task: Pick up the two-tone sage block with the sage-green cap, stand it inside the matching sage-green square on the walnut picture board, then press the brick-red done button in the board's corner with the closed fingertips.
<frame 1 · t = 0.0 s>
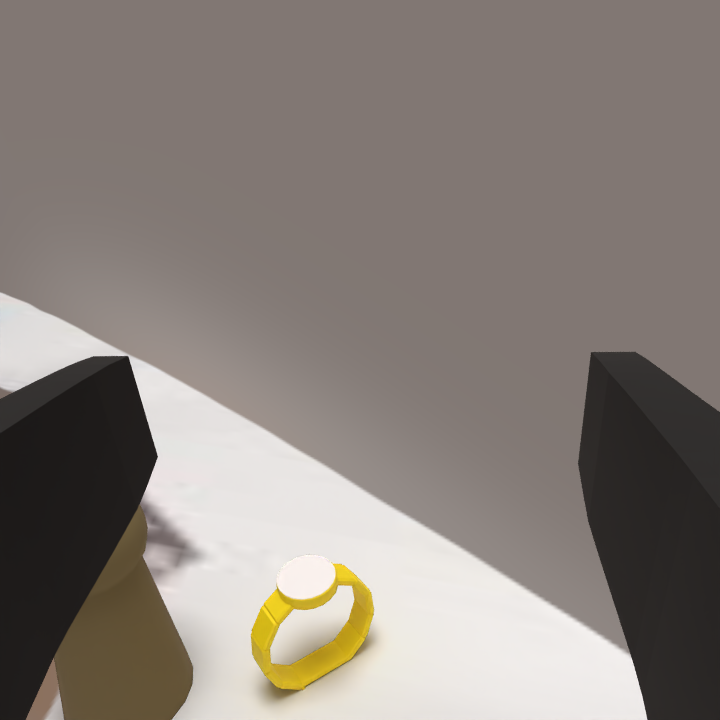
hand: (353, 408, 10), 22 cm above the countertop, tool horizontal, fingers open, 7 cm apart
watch: (319, 668, 32), on the countertop
cork: (130, 691, 31), on the countertop
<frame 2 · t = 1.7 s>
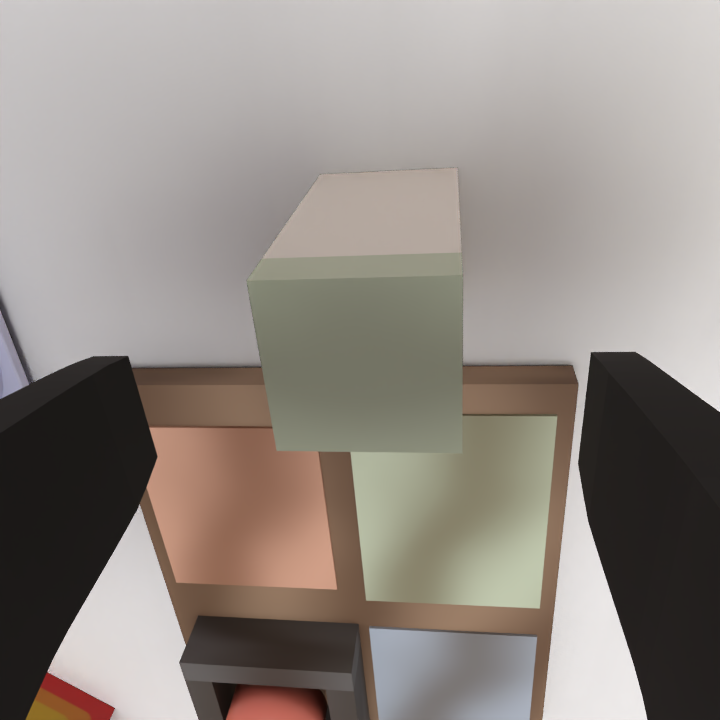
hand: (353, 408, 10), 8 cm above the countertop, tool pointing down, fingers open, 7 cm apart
two-tone sage block: (391, 237, 17), on the countertop
picture board: (355, 566, 23), on the countertop
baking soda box: (18, 711, 32), on the countertop
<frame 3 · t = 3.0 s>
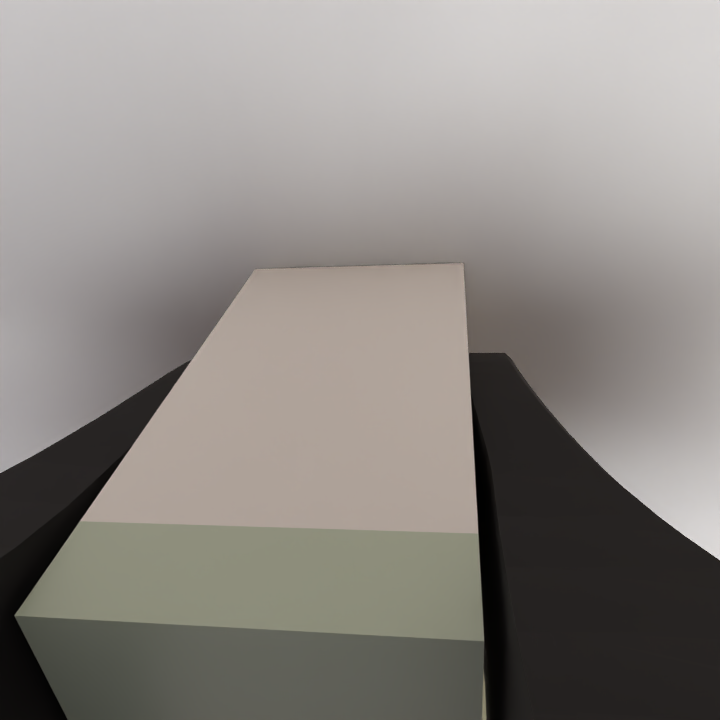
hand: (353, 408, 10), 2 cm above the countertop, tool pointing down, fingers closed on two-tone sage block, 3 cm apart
two-tone sage block: (364, 357, 11), on the countertop, touching gripper
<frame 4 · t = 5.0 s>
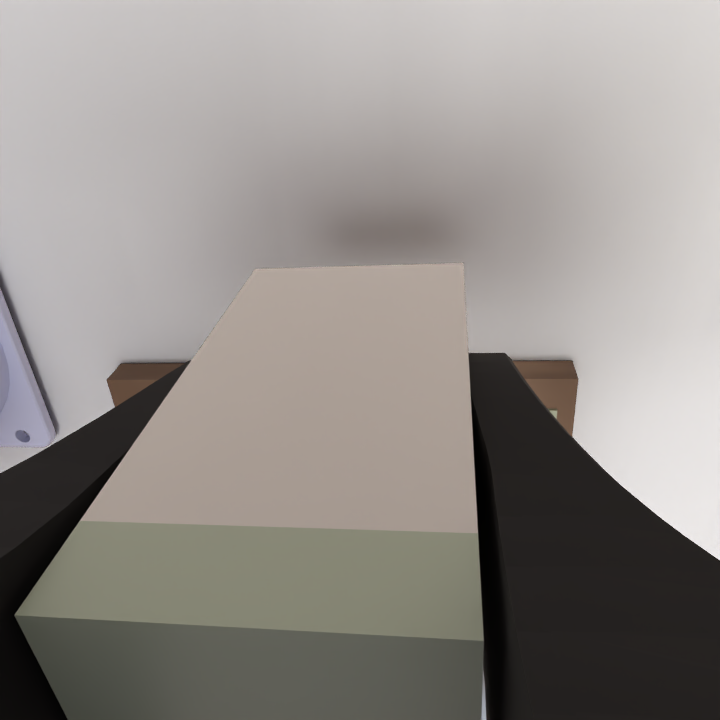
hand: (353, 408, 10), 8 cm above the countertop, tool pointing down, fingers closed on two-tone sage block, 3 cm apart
two-tone sage block: (364, 357, 11), point 7 cm above the countertop, touching gripper
picture board: (357, 560, 24), on the countertop
when the fingers open (3 cm above the countertop, at t = 7.3 s): two-tone sage block stays where it is, resting on picture board.
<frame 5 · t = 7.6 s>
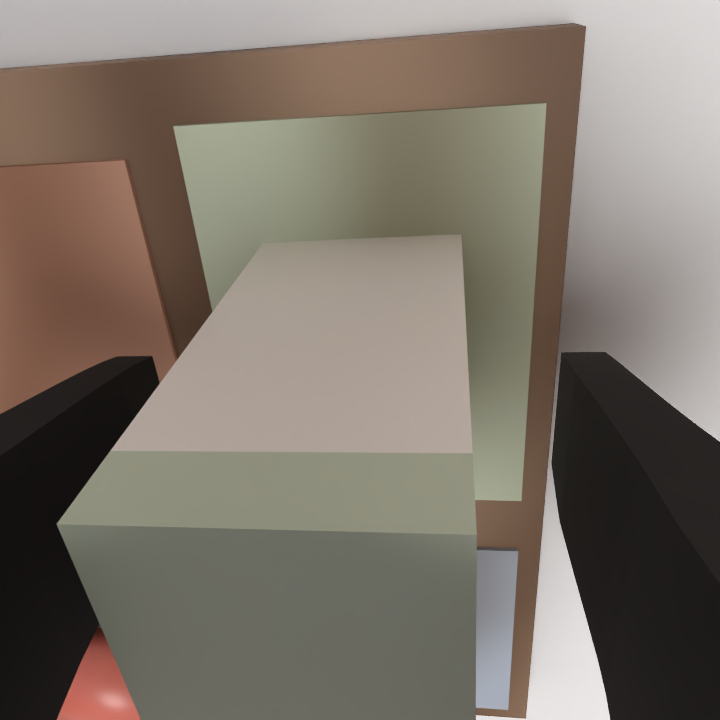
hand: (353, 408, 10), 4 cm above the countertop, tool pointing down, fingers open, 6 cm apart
done button: (119, 688, 16), point 3 cm above the countertop, slide at 0.0 cm
two-tone sage block: (368, 327, 12), point 1 cm above the countertop, touching picture board
picture board: (239, 447, 15), on the countertop
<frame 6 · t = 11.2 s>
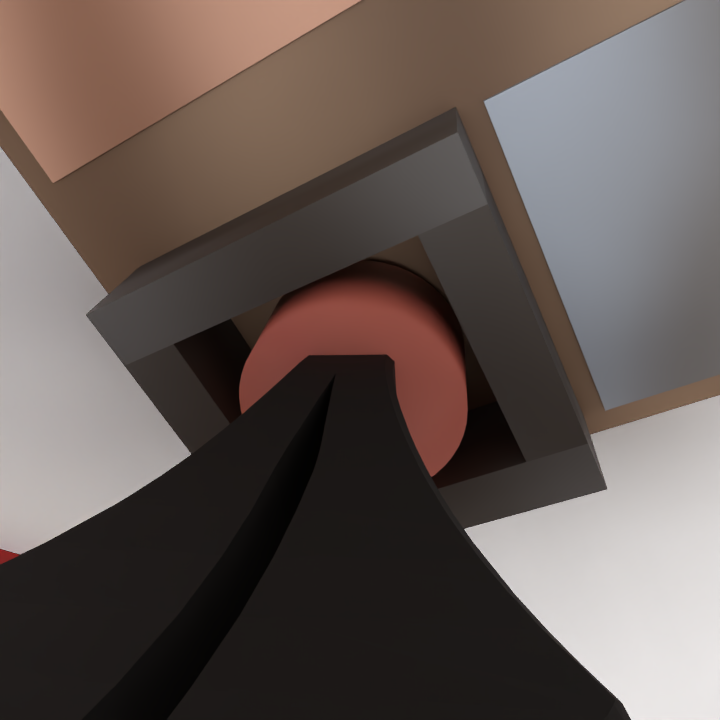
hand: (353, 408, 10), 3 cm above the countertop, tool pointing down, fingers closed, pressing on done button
done button: (358, 380, 11), point 2 cm above the countertop, slide at 0.8 cm, touching gripper
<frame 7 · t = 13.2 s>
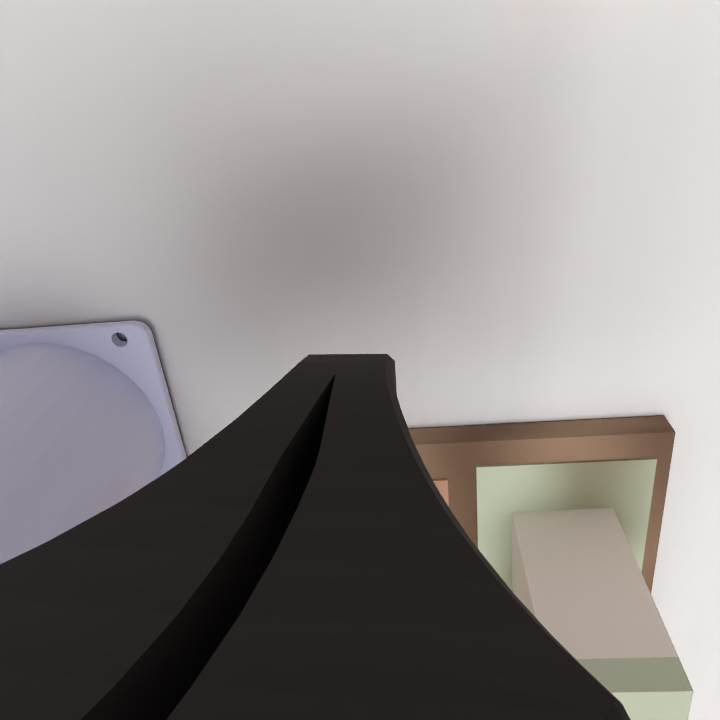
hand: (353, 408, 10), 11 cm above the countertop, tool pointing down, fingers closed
two-tone sage block: (560, 546, 23), point 1 cm above the countertop, touching picture board
picture board: (464, 597, 26), on the countertop
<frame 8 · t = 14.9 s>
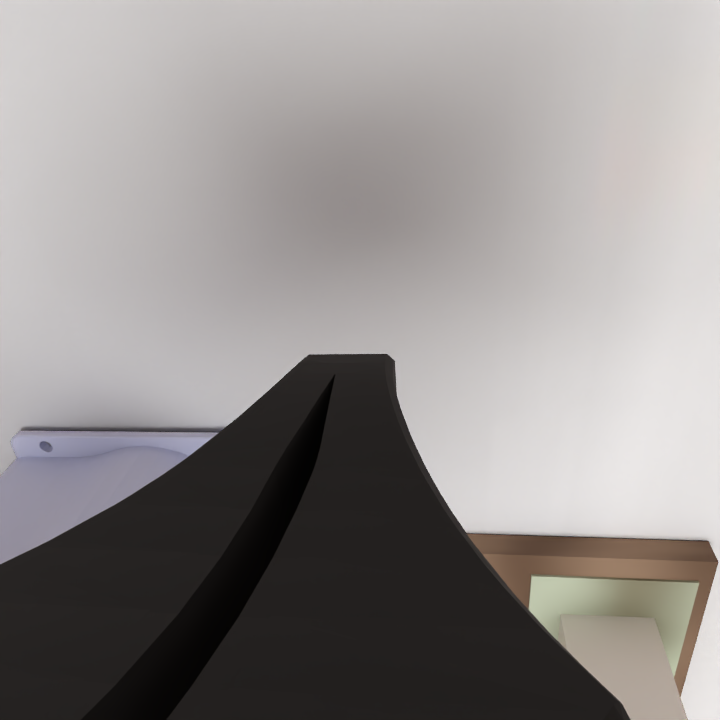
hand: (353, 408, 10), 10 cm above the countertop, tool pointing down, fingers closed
two-tone sage block: (602, 644, 26), point 1 cm above the countertop, touching picture board
picture board: (508, 672, 29), on the countertop
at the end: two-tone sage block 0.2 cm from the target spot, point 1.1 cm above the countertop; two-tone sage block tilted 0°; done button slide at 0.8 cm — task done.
